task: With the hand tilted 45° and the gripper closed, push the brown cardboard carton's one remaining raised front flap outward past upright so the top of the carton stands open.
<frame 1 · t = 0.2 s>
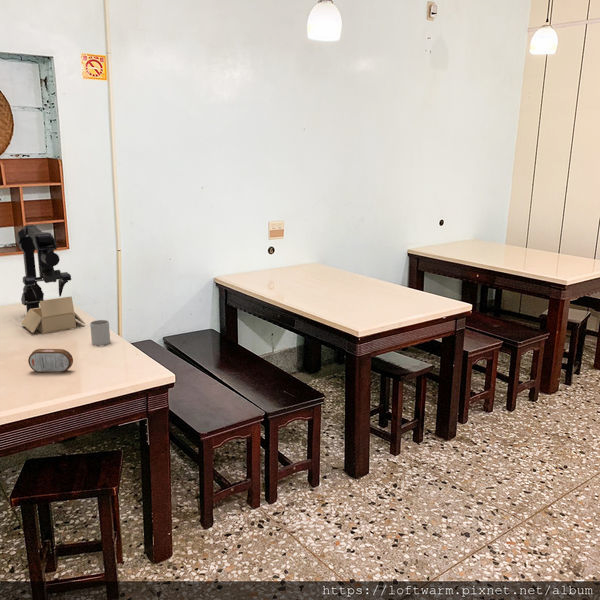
hand: (49, 297, 259), 14 cm above the table, tool pointing down, fingers open, 9 cm apart
carton: (53, 326, 267), on the table
tin: (51, 372, 213), on the table
cup: (100, 342, 246), on the table
flap: (57, 306, 258), point 11 cm above the table, hinge at 105.0°
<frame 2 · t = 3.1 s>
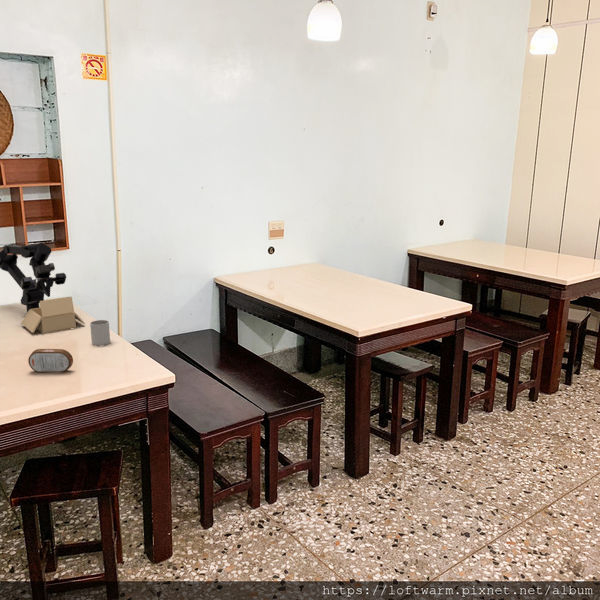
hand: (49, 296, 266), 13 cm above the table, tool tilted 45°, fingers closed
nothing on the table moved.
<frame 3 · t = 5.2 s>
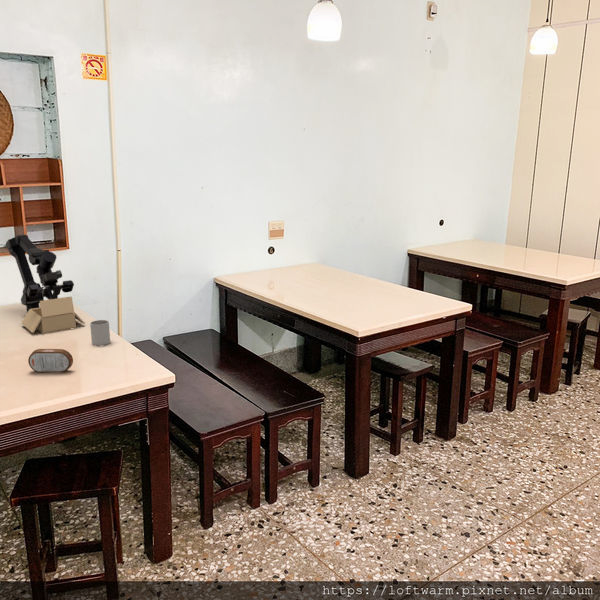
hand: (56, 304, 259), 12 cm above the table, tool tilted 45°, fingers closed, pressing on flap
flap: (57, 306, 258), point 11 cm above the table, hinge at 105.0°, touching gripper
everything else where it was.
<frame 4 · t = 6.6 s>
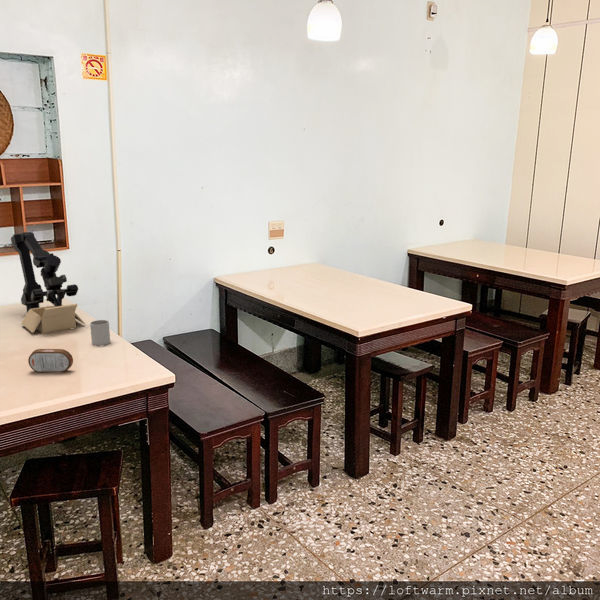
hand: (60, 309, 255), 11 cm above the table, tool tilted 40°, fingers closed, pressing on flap
flap: (59, 310, 256), point 10 cm above the table, hinge at 42.4°, touching gripper
everything else where it was.
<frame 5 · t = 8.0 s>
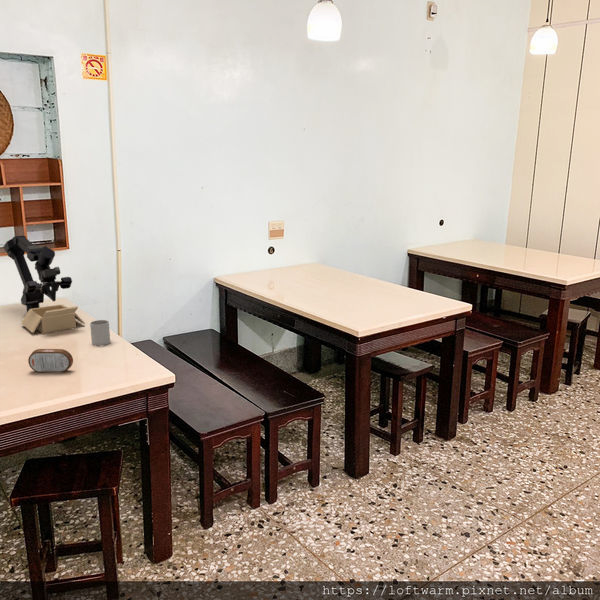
hand: (54, 300, 260), 13 cm above the table, tool tilted 45°, fingers closed
flap: (60, 312, 256), point 9 cm above the table, hinge at 31.9°
everything else where it was.
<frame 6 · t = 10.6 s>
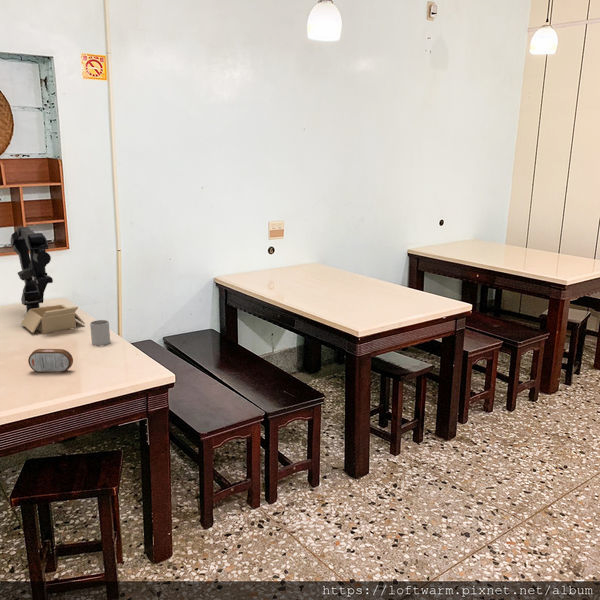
hand: (41, 295, 268), 13 cm above the table, tool pointing down, fingers closed
flap: (60, 312, 256), point 9 cm above the table, hinge at 31.3°
everything else where it was.
at the end: flap at +31° (first picture: +105°); cup moved 0.2 cm from its start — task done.
